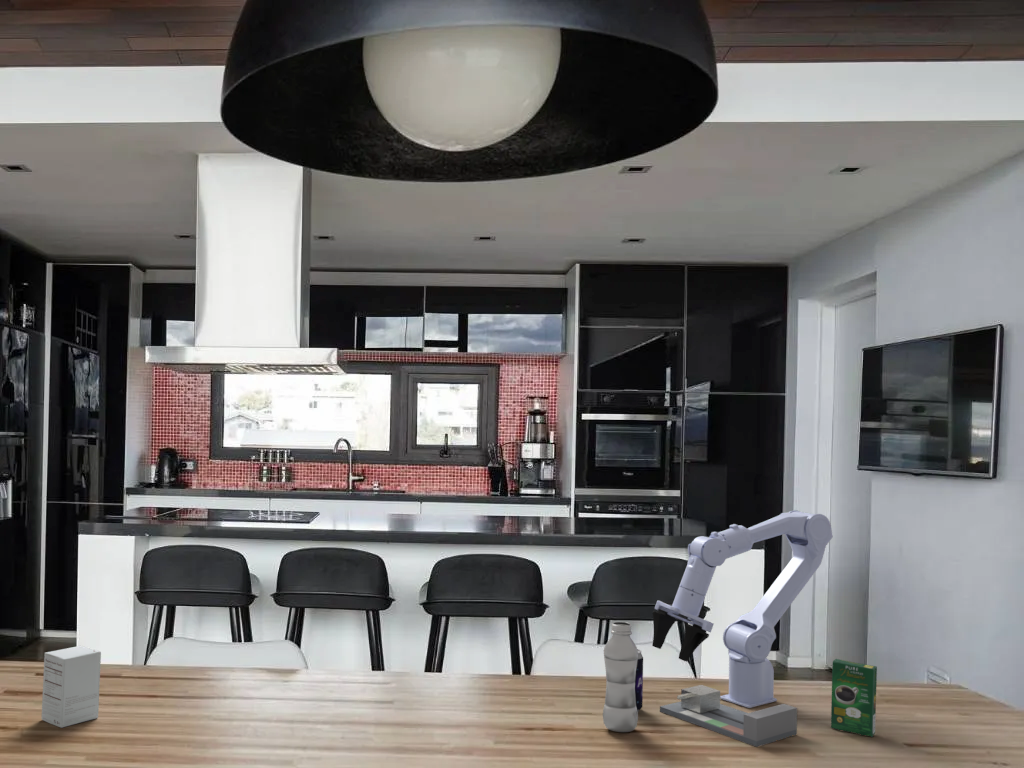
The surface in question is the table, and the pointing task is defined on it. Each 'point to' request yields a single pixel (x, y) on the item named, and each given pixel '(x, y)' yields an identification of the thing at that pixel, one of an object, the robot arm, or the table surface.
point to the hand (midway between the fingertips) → (669, 653)
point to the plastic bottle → (620, 680)
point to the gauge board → (742, 722)
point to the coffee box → (853, 697)
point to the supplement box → (71, 686)
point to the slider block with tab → (700, 698)
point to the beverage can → (639, 681)
